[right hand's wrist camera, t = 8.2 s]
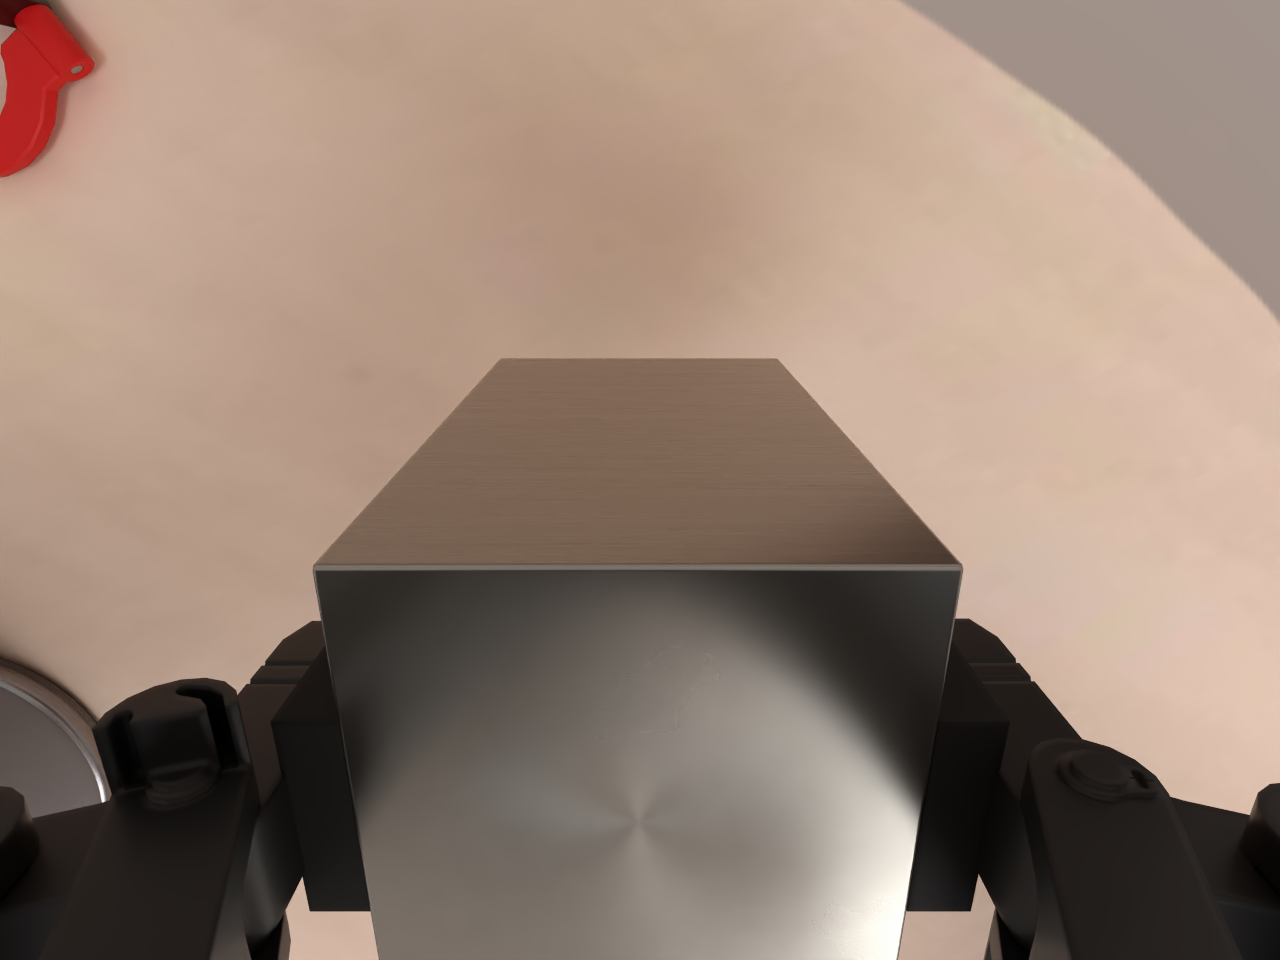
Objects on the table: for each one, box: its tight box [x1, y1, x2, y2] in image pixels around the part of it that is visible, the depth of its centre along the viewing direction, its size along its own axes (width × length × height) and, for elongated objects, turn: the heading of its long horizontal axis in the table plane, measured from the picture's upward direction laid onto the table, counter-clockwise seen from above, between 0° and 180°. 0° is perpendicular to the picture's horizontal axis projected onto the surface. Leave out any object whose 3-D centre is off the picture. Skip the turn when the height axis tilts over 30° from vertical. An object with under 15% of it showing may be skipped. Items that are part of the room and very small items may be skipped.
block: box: [313, 359, 963, 960], centre depth 13 cm, size 6×6×10 cm
